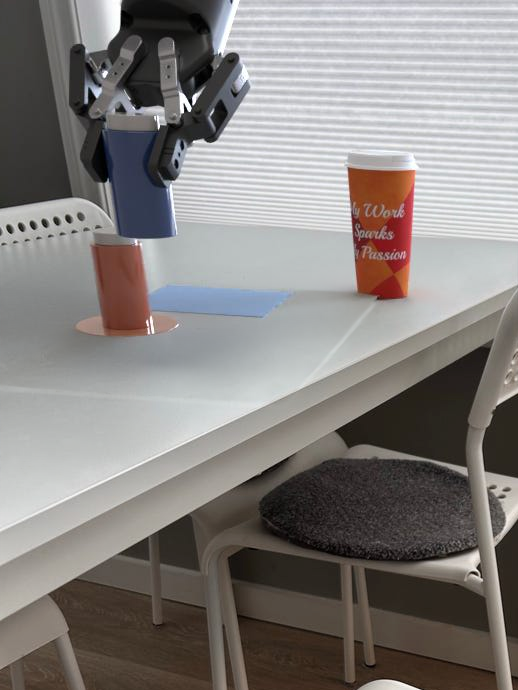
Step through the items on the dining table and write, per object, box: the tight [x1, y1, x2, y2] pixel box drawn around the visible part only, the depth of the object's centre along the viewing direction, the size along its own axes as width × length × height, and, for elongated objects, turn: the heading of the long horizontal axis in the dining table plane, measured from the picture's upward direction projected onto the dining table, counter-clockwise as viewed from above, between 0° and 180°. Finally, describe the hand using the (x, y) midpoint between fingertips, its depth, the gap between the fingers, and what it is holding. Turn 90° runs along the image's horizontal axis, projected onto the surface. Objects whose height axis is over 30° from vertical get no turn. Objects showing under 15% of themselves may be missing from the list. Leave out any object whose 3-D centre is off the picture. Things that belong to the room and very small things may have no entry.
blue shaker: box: [101, 111, 178, 240], centre depth 70 cm, size 4×4×8 cm
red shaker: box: [88, 227, 153, 330], centre depth 85 cm, size 4×4×8 cm
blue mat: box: [149, 284, 295, 318], centre depth 97 cm, size 14×12×1 cm
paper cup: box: [343, 149, 420, 300], centre depth 102 cm, size 8×8×14 cm
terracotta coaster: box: [75, 313, 180, 338], centre depth 87 cm, size 9×9×1 cm
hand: (126, 176), depth 68 cm, fingers closed on blue shaker, 4 cm apart
